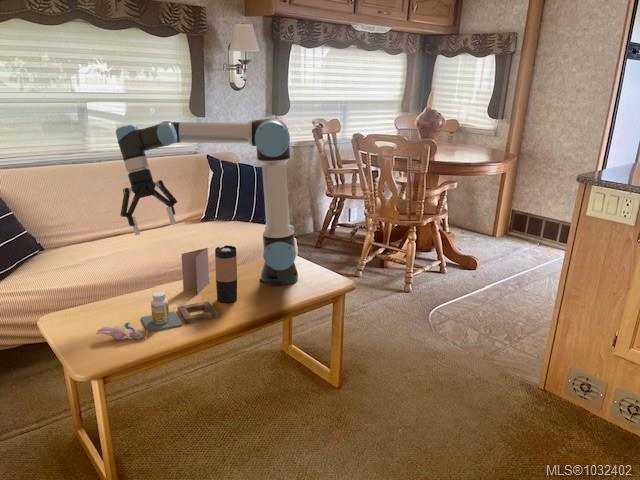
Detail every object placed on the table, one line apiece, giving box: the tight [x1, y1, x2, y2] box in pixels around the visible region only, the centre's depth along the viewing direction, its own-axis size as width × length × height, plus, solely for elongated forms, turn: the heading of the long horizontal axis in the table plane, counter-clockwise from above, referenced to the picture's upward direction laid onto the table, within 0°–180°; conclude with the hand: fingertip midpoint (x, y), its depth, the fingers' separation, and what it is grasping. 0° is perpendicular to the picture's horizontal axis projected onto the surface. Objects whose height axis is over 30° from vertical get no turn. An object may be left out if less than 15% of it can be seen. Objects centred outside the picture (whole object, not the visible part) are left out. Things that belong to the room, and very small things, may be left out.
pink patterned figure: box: [95, 322, 149, 341], centre depth 159 cm, size 6×6×15 cm
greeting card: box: [180, 247, 210, 295], centre depth 196 cm, size 11×7×15 cm, turn 135°
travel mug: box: [214, 245, 238, 305], centre depth 186 cm, size 8×8×20 cm
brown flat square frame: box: [177, 300, 219, 324], centre depth 177 cm, size 11×11×2 cm
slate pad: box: [140, 310, 183, 334], centre depth 171 cm, size 11×11×1 cm
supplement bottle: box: [150, 291, 170, 324], centre depth 169 cm, size 5×5×10 cm
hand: (156, 229), depth 181 cm, fingers open, 13 cm apart
